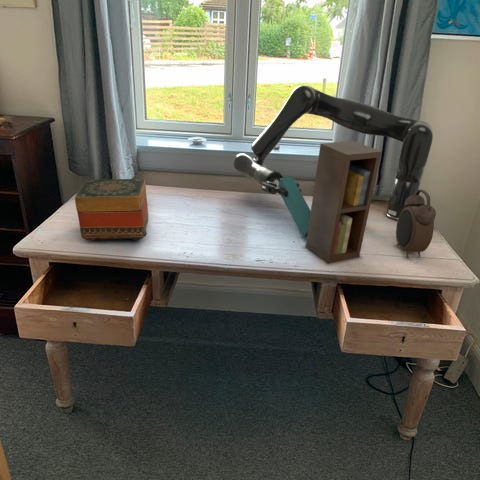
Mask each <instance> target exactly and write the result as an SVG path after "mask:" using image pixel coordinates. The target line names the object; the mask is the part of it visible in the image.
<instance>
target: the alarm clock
mask: <svg viewBox="0 0 480 480" xmlns="http://www.w3.org/2000/svg"><path fill="white" fill-rule="evenodd" d="M420 194H423V195H424V196H425V198H426V200H425V198H424V197H423V196H421V195H420ZM425 201H426V202H425ZM405 206H406V207H405V208H404V209H403V210H402V211H401V213H400V215H399V218H398V220H396V227H395V228H396V229H395V236H396V237H395V239H396V242H397V244H396V247H399V250H401V251H402V252H405V253H406V259H409V255H410V253H417V254H418V257H419V258H420V257H421V252H425V251H426V250H427V249H428V248H429V246H430V244H431V242H432V239H433V236H434V232H435V231H434V230H435V220H436V216H437V211H436V209H435V208H434V207H433V206H432V205H431V195H430V194H429V193H428V192H427V191H426V190H424V189H419V190H418V191H417V192H414V195H413V196H410V197H408V198H407V199H406V202H405Z"/></svg>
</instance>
